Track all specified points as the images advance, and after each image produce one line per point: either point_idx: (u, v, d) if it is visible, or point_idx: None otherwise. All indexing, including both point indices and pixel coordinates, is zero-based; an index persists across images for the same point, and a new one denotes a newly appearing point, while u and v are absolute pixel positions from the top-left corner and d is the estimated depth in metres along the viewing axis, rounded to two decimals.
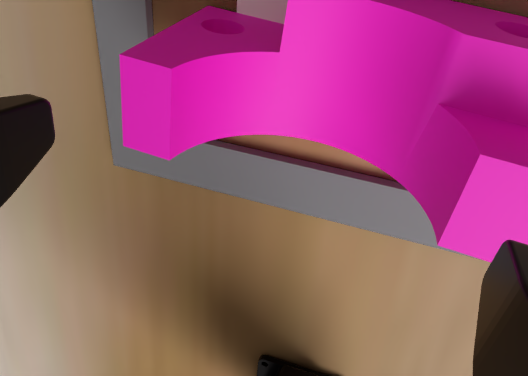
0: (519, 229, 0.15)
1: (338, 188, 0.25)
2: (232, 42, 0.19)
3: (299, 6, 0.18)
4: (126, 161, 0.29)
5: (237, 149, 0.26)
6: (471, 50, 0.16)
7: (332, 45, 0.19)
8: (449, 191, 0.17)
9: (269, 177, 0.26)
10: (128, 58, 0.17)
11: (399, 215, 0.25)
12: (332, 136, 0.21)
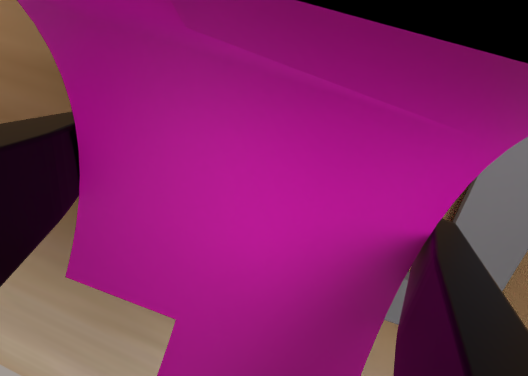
0: None
1: None
2: None
3: (98, 267, 0.10)
4: None
5: (465, 201, 0.20)
6: None
7: (169, 222, 0.09)
8: None
9: (516, 171, 0.18)
10: None
11: None
12: (383, 258, 0.08)
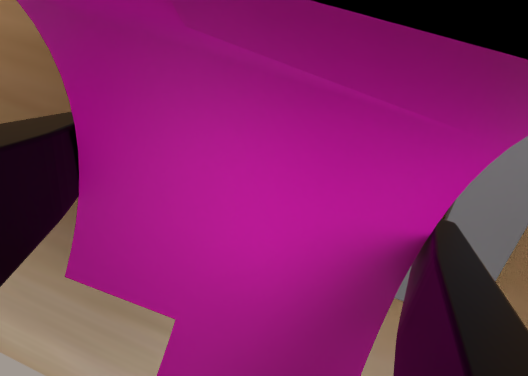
0: None
1: None
2: None
3: (98, 267, 0.10)
4: None
5: None
6: None
7: (169, 221, 0.09)
8: None
9: None
10: None
11: None
12: (383, 257, 0.08)
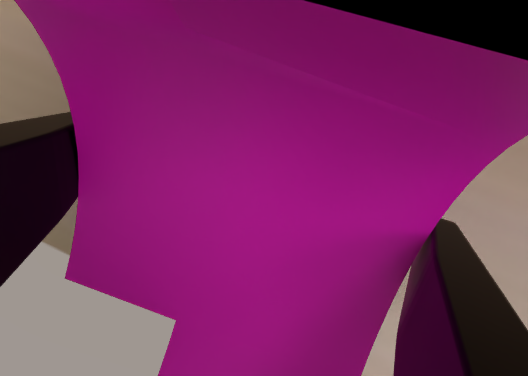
0: None
1: None
2: None
3: (98, 268, 0.10)
4: None
5: None
6: None
7: (168, 223, 0.09)
8: None
9: None
10: None
11: None
12: (383, 257, 0.08)
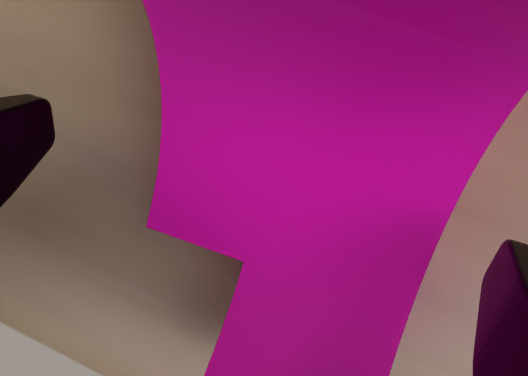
0: None
1: None
2: None
3: (175, 217, 0.11)
4: None
5: None
6: None
7: (239, 172, 0.11)
8: None
9: None
10: None
11: None
12: (432, 195, 0.09)
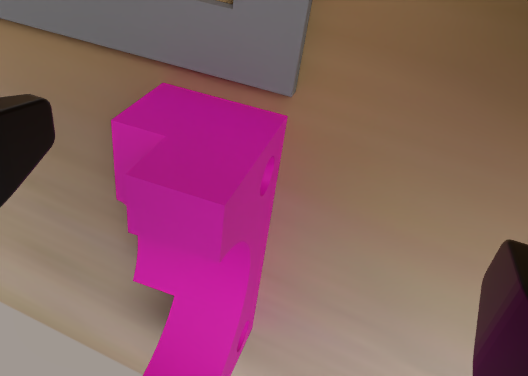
0: (180, 206, 0.17)
1: None
2: None
3: (145, 276, 0.26)
4: (284, 73, 0.20)
5: None
6: (124, 195, 0.22)
7: (170, 259, 0.25)
8: None
9: None
10: None
11: None
12: (240, 270, 0.24)
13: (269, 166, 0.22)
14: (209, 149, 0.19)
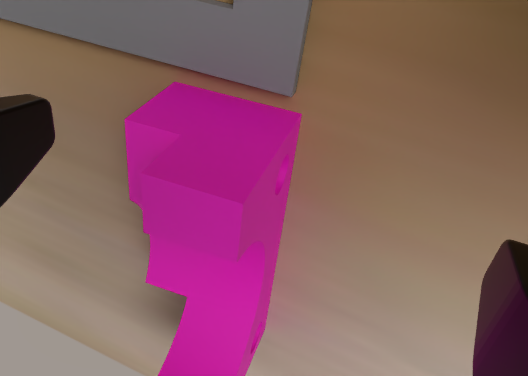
0: (197, 205, 0.16)
1: None
2: None
3: (158, 278, 0.26)
4: (284, 73, 0.20)
5: None
6: (138, 195, 0.21)
7: (183, 260, 0.25)
8: None
9: None
10: None
11: None
12: (254, 271, 0.24)
13: (283, 165, 0.22)
14: (224, 148, 0.18)
